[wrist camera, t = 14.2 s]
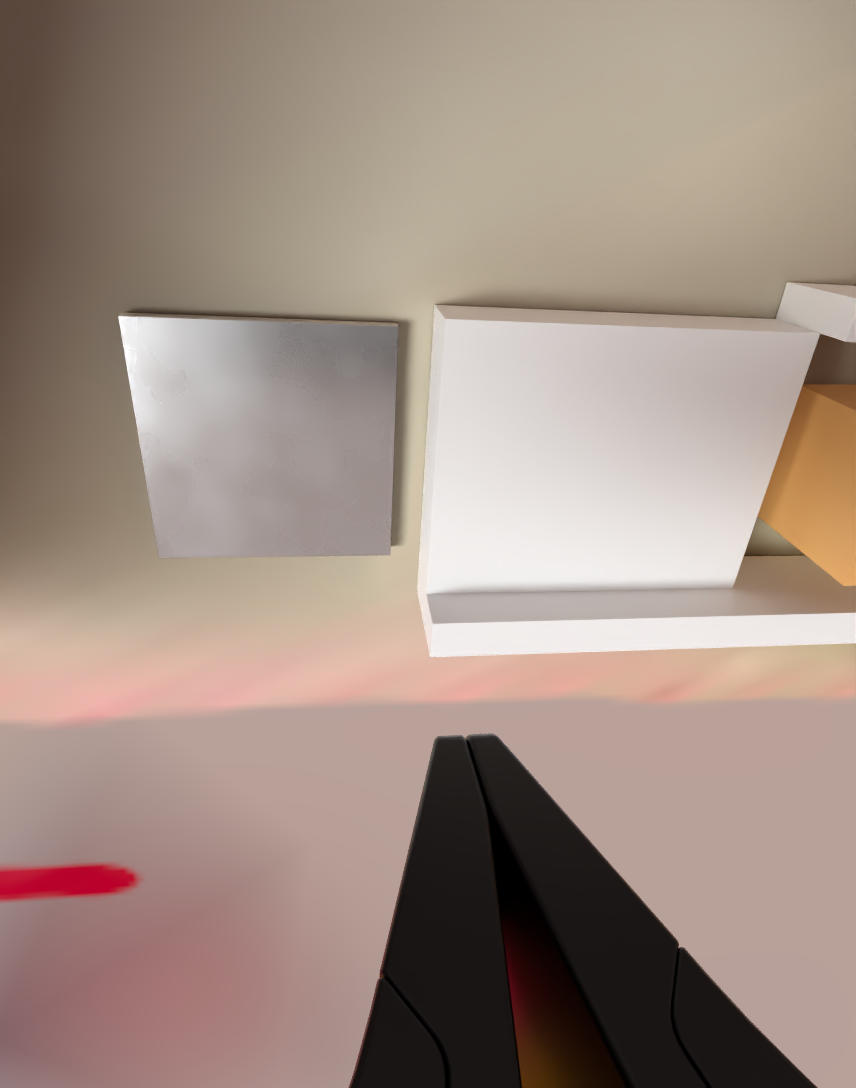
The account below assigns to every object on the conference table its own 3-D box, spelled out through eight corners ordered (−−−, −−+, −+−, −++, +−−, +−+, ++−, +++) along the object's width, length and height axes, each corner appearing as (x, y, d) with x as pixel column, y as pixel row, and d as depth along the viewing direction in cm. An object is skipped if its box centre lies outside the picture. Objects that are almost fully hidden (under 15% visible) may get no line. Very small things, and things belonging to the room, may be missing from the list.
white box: (437, 264, 17) (458, 283, 14) (1023, 294, 19) (1150, 315, 16) (417, 590, 22) (430, 657, 19) (885, 581, 24) (963, 639, 21)
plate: (123, 312, 17) (118, 315, 16) (396, 322, 17) (398, 326, 17) (162, 549, 20) (158, 557, 20) (389, 547, 21) (390, 555, 20)
